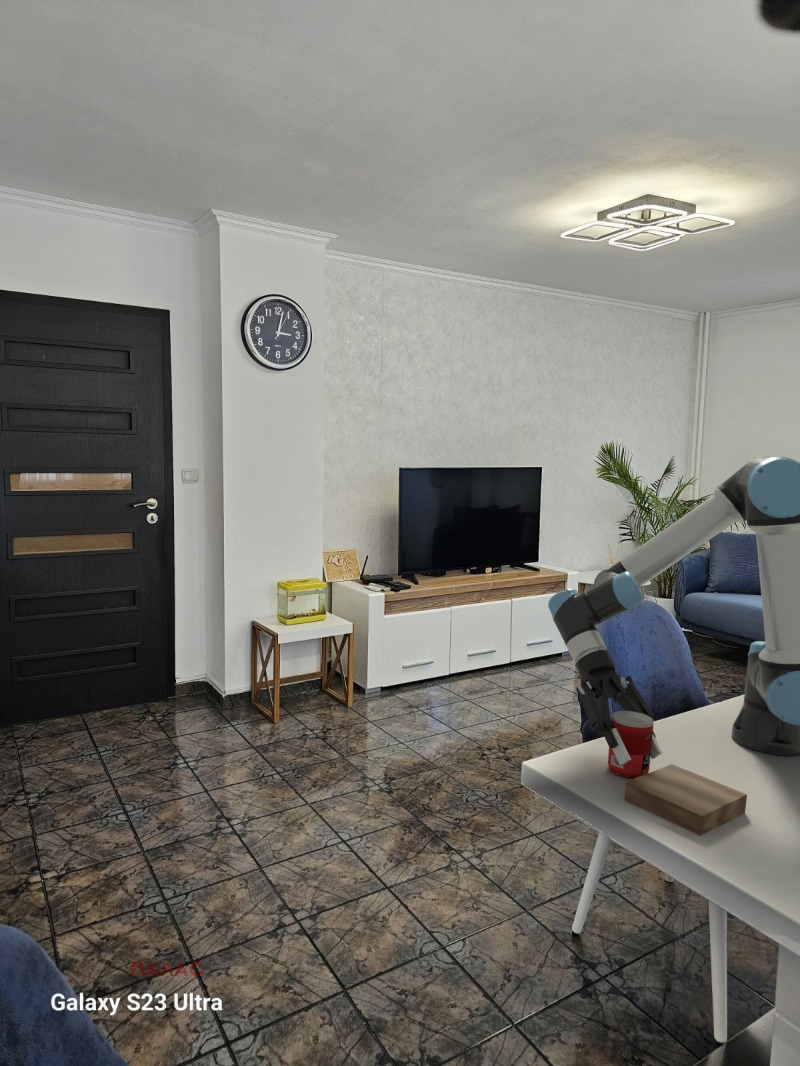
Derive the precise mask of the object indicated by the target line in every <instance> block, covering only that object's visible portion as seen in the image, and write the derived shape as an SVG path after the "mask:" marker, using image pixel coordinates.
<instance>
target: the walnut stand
mask: <svg viewBox="0 0 800 1066" xmlns="http://www.w3.org/2000/svg"><path fill="white" fill-rule="evenodd" d="M747 798H748V794H747V793H745V792H743V791H739V790H737V789H734V788H732V787H729V786H727V785H724V784H722V783H720V782H718V781H715V780H712V779H710V778H707V777H705V776H702V775H700V774H697V773H695V772H693V771H690V770H689V769H685V768H683V767H680V766H677V765H675V764H668V765H666V766H663V767H660V768H658V769H656V770H653V771H651V772H650V771H649V772H648V774H645V775H642V776H640V777H637V778H631V779H630V780H627V781H626V782H625V787H624V798H623V799H624V801H625V802H627V803H630V804H631V805H633V806H635V807H638V808H640V809H642V810H644V811H646V812H648V813H651V814H653V815H655V816H657V817H660V818H662V819H664V820H665V821H668V822H669V823H672V824H674V825H676V826H678V827H681V828H683V829H684V830H687V831H689V832H691V833H693V834H696V835H697V836H700V837H701V836H704V835H705V834H707V833H708V832H711V831H712V830H715V829H717V828H719V827H721V826H722V825H724V824H726V823H728V822H730V821H733V820H735V819H736V818H738V817H740V816H742V815H744V814H746V810H747V809H746V807H747V801H748V800H747Z"/></svg>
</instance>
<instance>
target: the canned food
mask: <svg viewBox="0 0 800 1066" xmlns="http://www.w3.org/2000/svg"><path fill="white" fill-rule="evenodd" d="M611 725H612V728H611V730H612V729H614V728H616V729H617V731H618V733H619V735H620V737H621V740H622V742H623V744H624V746H625V748H626V750H627V752H628V754H629V756H630V758H631V760H630V761H628V762H627V763H626V764H624V765H622V766H620V764H619V762H618V760H617V758H616V756H615V754H614V752H613V749H611V748H610V747H609V746H608V757H607V765H608V769H609V770H610V771H611V772H613V773H614V774H616V775H619V776H621V777H624V778H625V777H626V778H629V779H635V778H637V777H640V776H642V775H645V774H648V773H650V765H651V764H650V763H651V757H650V756H651V746H652V736H653V732H654V725H655V724H654V718H653V719H652V718H651V717H649V716H647V715H645V714H642V713H638V712H633V711H625V710H618V711H615V712H612V714H611Z"/></svg>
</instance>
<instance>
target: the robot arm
mask: <svg viewBox="0 0 800 1066" xmlns="http://www.w3.org/2000/svg"><path fill="white" fill-rule="evenodd" d="M745 522H746V526H747V528H749V529H750V530H751V531H753V532H754V533H755V536H756V537H755V538H756V549H757V551H756V552H757V559H758V572H759V573H758V575H759V583H760V593H761V595H760V596H761V605H762V617H763V628H764V629H763V630H764V631H763V632H764V640H765V641H763V640H762V641H761V640H757V641H753V642H752V643H751V644H750V646H749V652H748V653H747V656H748V659H747V667H746V668H747V669H746V676H745V677H746V678H745V688H744V695H743V697H744V698H743V705H742V707H741V708H740V710H739V712H738V714H737V716H736V719H735V720H734V721H733V724H732V726H731V727H732V728H731V738H732V739H733V740H734V741H735V742H737V743H738V744H739V745H742V746H744V747H746V748H748V749H751V750H753V751H757V752H761V753H764V754H768V755H769V754H771V755H775V754H776V756H784V755H789V757H790V755H794V756H800V755H799V754H800V461H797V460H796V459H793V458H790V457H787V456H764V457H757V458H754V459H752V460H750V461H748V462H746V463H745V464H744V465H743V466H741V468H739V469H738V470H737V471H736V472H735V473H733V474H732V475H730V477H728V478H727V479H725V480H724V481H723V482H722V483H721V484H719V485H717V487H715V488H714V491H713V494H712V496H710V497H709V498H707V499H706V500H705V501H703V502H701V503H700V504H699V505H698V506H696V507H695V508H693V509H692V510H690V511H689V512H687V513H686V514H685V515H683V516H681V517H680V518H679V519H677V520H676V521H675V522H673V523H671V525H669V526H667V527H666V528H664V529H663V530H661V531H660V532H659V533H658V534H656V535H655V536H653V537H651V538H650V539H649V540H647V541H646V542H645V543H643V544H642V545H640V546H639V547H638V548H636V549H635V550H634V551H631V552H630V553H629V554H628V555H626V556H625V557H623V558H622V559H621V560H619V561H618V562H616V563H615V564H613V565H612V566H610V567H609V568H605V569H603V570H600V572H599V573H598V574H597V575H596V577H595V578H594V582H593V587H592V588H590V589H588V590H586V591H584V592H581V593H580V592H579V591H578V590H577V589H574V588H566V589H565V590H559V592H557V593H555V594H553V595H552V596H551V597H550V599H549V600H548V604H547V606H548V609H549V612H550V614H551V617H552V621H553V622H554V625H555V626H556V628H557V630H558V633H559V634H560V637H561V638H562V640H563V643H564V644H565V647H566V648H567V651H568V652H569V654H570V657H571V658H572V660H573V663H575V667H576V669H577V672H578V674H579V677H580V678H581V679H582V681H583V682H581V683H580V684H579V685H578V686H576V687H575V690H576V692H577V694H578V695H579V697H580V698H581V701H582V704H583V708H584V710H585V714H586V717H587V719H588V723H589V725H590V729H591V731H592V732H593V733H597V735H599V737H600V736H601V737H602V736H603V737H604V739H605V741H606V744H607V745H608V748H609V747H610V748H611V749H613V752H614V754H615V756H616V758H617V760H618V762H619V764H620V766H622V765H624V764H626V763H627V762H628V761H630V760H631V758H630V756H629V754H628V752H627V750H626V748H625V746H624V744H623V742H622V740H621V737H620V735H619V733H618V731H617V729H616V728H614V729H612V730H611V728H612V725H611V719H612V717H611V712H610V704H609V699H612V701H613V702H615V703H617V704H618V705H619V706H620V707H621V708H622V709H623V711H633V712H638V713H642V714H645V715H647V716H649V717H651V718H652V719H653V720H654V719H655V715H654V713H653V712H652V710H651V708H650V707H649V705H648V704H647V702H646V701H645V699H644V698H643V696H642V695H641V694H640V692H639V690H638V689H637V687H636V685H635V683H634V680H633V678H632V676H630V675H627V676H626V677H621V676H620V675H619V674H618V673H617V672H616V669H615V668H616V664H615V661H614V659H613V658H612V656H611V654H610V652H609V650H607V646H606V643H605V642H604V640H603V638H602V636H601V634H600V632H599V630H598V629H597V626H598V625H600V624H603V623H604V622H606V621H608V620H610V619H612V618H613V617H614V618H615V617H616V616H618V615H620V614H622V613H624V612H626V611H628V610H632V609H634V608H635V607H636V606H638V605H639V604H641V603H643V602H644V600H645V597H644V594H643V592H642V589H640V588H641V587H642V586H644V585H645V584H647V583H649V582H650V581H651V580H653V579H654V578H656V577H657V576H659V575H660V574H661V573H663V572H664V571H666V570H667V569H669V568H670V567H672V566H674V565H675V564H676V563H677V562H680V561H681V560H683V558H685V557H687V556H688V555H689V554H691V553H693V552H694V551H695V550H697V549H698V548H700V547H701V546H703V545H704V544H706V543H707V542H709V541H710V540H711V539H712V538H715V537H716V536H717V535H719V534H720V533H722V532H723V531H725V530H726V529H728V528H729V527H731V526H732V525H734V524H735V523H741V524H743V523H745ZM662 754H663V751H662V749H661V747H660V745H659V743H658V740H657V736H656V734H655V732H654V731H653V736H652V746H651V756H650V760H654V759H656V758H658V757H659V756H661V755H662Z"/></svg>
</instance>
